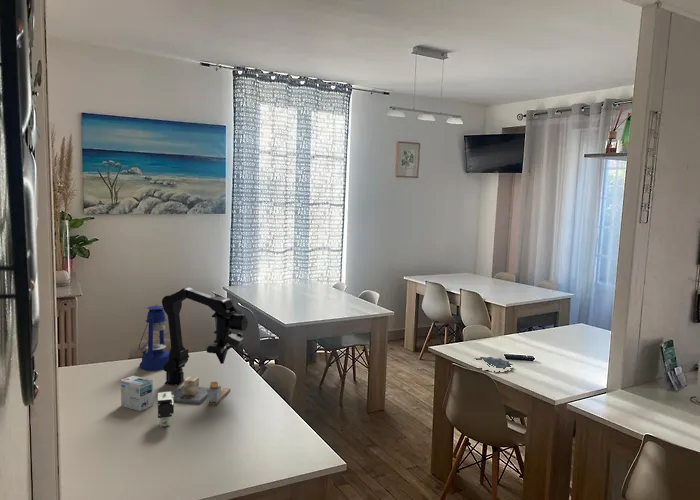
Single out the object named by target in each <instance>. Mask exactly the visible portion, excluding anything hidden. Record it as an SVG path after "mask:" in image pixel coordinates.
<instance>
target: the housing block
mask: <svg viewBox="0 0 700 500" xmlns="http://www.w3.org/2000/svg"><path fill="white" fill-rule="evenodd" d="M199 381H200V376H199V377H196V376H187V377H185V379H184V381H183V385H184V394H186V395H195V394H196V393H197V392H198V391H199V387H200V382H199Z"/></svg>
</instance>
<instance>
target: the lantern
mask: <svg viewBox="0 0 700 500" xmlns="http://www.w3.org/2000/svg"><path fill="white" fill-rule="evenodd" d="M147 310H148V311H147V316H146V320H145V323H146V325H145V328H144V331H143V333H142V336H141V339H140V342H139V344H138V348H139V350H140V352H141V353H142V355H141V362H140V363H139V369H140V370H142V371H146V372H147V371H148V372H156V371H157V372H159V371H164V369H163V366H164V365H165V364H166V363H167V362H168V358H169V352H170V351H168V350H164V349H165V348H167V345H166V344H165V337H166V336H167V335H168V333H165V330H166V325H164V324H165V323H164V322H167V321H168V319H166V315H165V314H166V312H165V311H164V309H163V305H161V304H155V305H150V306H148V307H147ZM146 330H147V332H146ZM158 331H159V335H158V334H156V333H154V332H158ZM147 333H148V334H147ZM145 335H147V337H146V336H145ZM154 335H155V336H157V337H159V338H157V339H156V340H154ZM143 337H145V339H146V340H147V343H146V344H144V345H143V347H141V348H140V346H141V343H142V341H143ZM156 341H159V343H158V342H156ZM155 342H156V343H155ZM146 345H147V346H146ZM144 348H146V349H147V350H144Z"/></svg>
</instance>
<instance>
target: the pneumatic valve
mask: <svg viewBox="0 0 700 500" xmlns="http://www.w3.org/2000/svg"><path fill="white" fill-rule="evenodd" d="M171 394H172V390H167V391H158V392H157V418H158V419H159V427H160V428H162V427H169V426H170V425H171V423H170V422H171V421H170V419H171V417H173V415H174V414H175V411H174V407H175V405H174V403H175V402H173V398H174V395H171Z"/></svg>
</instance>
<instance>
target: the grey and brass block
mask: <svg viewBox="0 0 700 500" xmlns="http://www.w3.org/2000/svg"><path fill="white" fill-rule="evenodd" d="M221 387H222V386H220V385H219V382H218V381H211V382H210V383H209V387H207V388H208V389H207V398H206V400H207V402H209V401H211V402H217V401H218V400H219V399H220V398H221V390H222V388H221Z"/></svg>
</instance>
